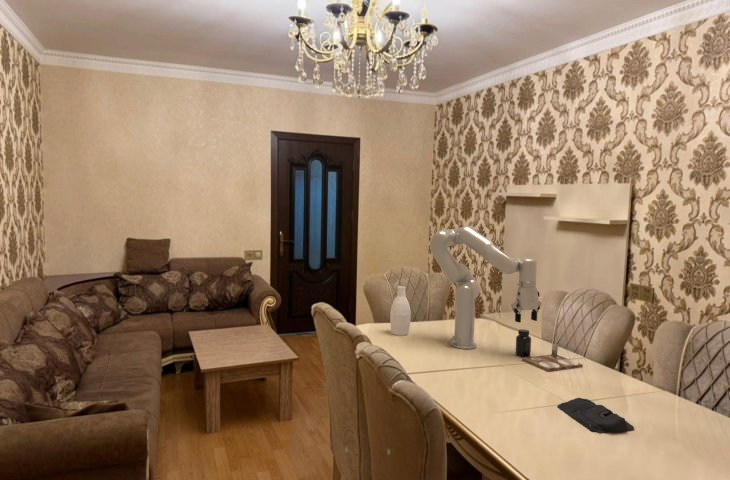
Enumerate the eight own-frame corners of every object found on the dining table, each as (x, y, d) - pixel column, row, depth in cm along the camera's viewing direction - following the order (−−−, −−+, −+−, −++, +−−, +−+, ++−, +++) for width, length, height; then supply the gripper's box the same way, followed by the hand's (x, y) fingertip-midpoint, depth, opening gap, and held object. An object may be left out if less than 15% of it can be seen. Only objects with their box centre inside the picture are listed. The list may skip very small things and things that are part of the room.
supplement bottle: (528, 353, 230) (529, 329, 229) (532, 358, 223) (533, 332, 222) (513, 352, 231) (515, 328, 230) (516, 357, 224) (518, 331, 223)
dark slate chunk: (591, 404, 171) (592, 391, 171) (638, 433, 150) (639, 418, 149) (553, 406, 168) (554, 393, 168) (595, 436, 147) (596, 421, 146)
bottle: (408, 337, 252) (410, 289, 251) (387, 335, 255) (389, 287, 253) (411, 332, 263) (413, 285, 262) (391, 330, 266) (392, 284, 264)
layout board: (548, 371, 204) (549, 355, 204) (521, 360, 219) (522, 344, 218) (582, 367, 212) (583, 351, 212) (554, 356, 227) (555, 341, 227)
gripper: (518, 286, 218) (517, 324, 219) (547, 285, 225) (546, 321, 226) (507, 284, 225) (505, 320, 225) (535, 282, 232) (534, 318, 232)
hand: (526, 321), depth 226 cm, fingers open, 9 cm apart
